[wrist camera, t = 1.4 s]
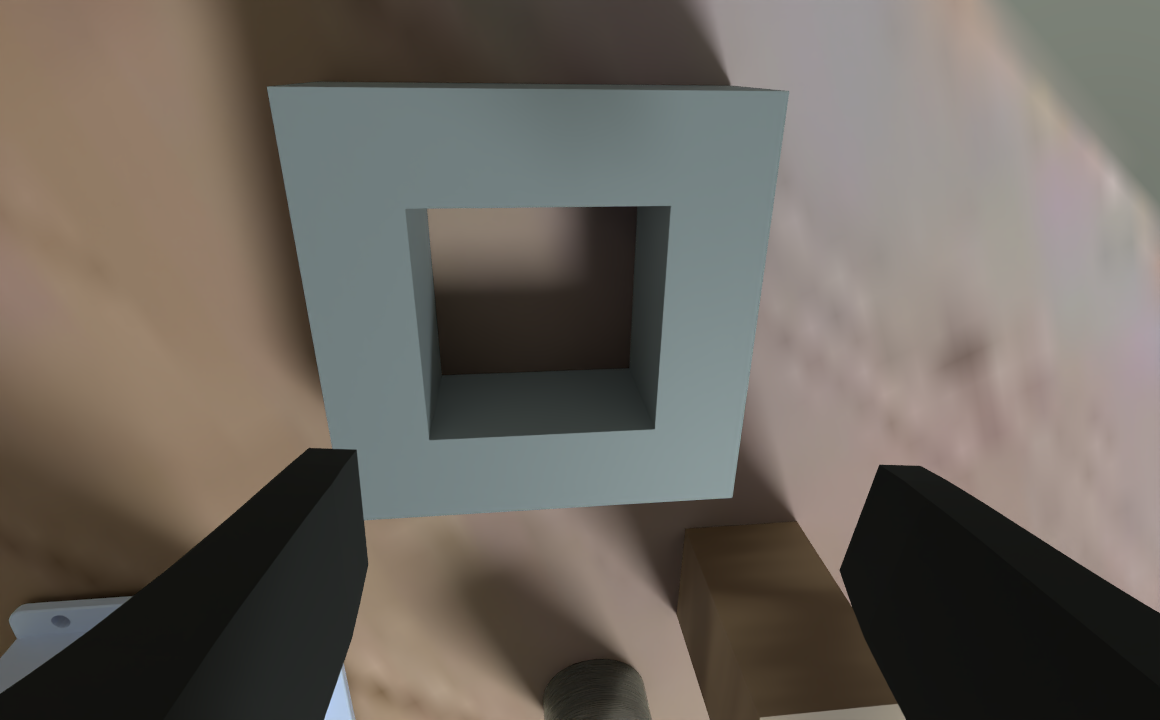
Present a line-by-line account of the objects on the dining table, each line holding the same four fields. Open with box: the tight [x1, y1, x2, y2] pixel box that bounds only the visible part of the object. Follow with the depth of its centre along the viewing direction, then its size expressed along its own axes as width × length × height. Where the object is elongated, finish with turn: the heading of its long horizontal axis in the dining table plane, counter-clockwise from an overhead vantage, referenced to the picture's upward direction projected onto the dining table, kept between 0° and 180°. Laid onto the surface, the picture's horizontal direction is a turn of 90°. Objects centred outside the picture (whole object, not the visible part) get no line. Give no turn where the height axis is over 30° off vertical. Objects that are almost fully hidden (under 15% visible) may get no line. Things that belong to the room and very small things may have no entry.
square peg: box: [677, 521, 906, 720], centre depth 20 cm, size 4×4×7 cm
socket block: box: [267, 82, 789, 520], centre depth 16 cm, size 10×10×4 cm
